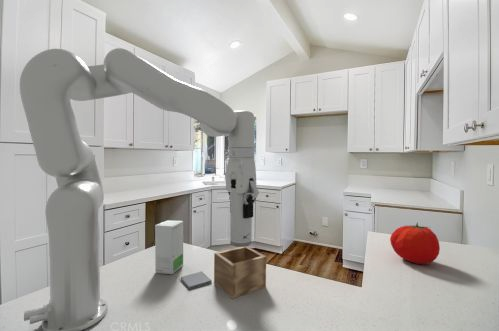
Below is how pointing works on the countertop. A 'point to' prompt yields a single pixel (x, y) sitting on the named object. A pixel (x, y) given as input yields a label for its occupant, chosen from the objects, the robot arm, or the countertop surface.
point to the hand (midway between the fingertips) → (241, 214)
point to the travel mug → (239, 220)
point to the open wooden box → (239, 271)
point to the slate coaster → (195, 280)
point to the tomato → (415, 244)
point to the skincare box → (168, 246)
